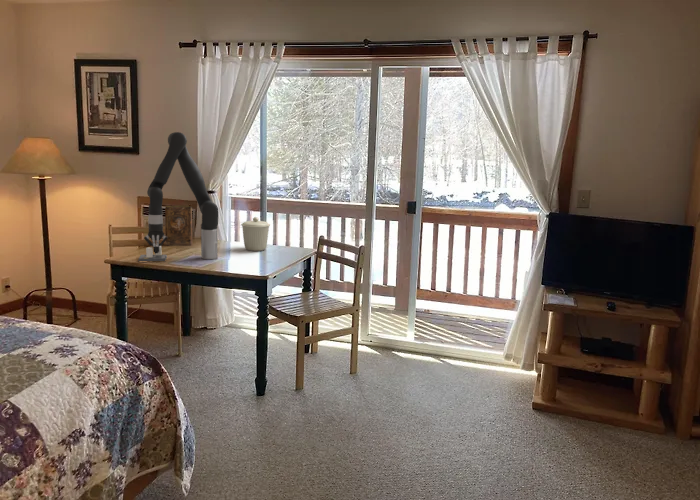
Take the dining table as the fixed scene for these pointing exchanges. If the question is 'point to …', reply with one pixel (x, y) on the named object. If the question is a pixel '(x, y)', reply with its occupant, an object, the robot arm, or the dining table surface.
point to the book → (178, 225)
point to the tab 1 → (149, 252)
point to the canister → (255, 234)
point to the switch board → (153, 258)
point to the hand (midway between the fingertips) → (156, 253)
